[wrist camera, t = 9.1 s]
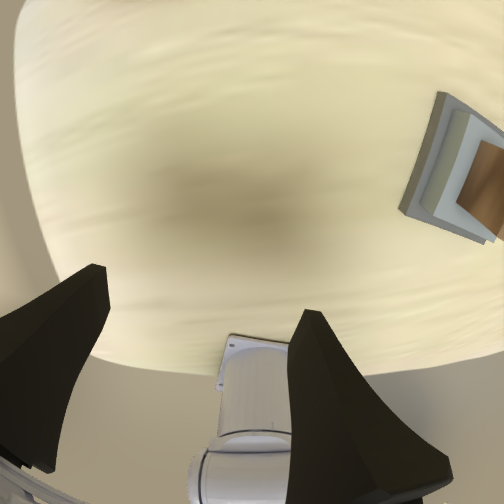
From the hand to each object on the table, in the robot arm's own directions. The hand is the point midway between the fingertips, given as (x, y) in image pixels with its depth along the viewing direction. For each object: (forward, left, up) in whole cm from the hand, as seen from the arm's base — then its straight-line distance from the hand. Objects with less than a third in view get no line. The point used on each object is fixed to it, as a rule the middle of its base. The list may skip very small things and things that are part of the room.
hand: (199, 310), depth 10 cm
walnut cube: (+7, -16, -7) cm, 19 cm away
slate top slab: (+7, -16, -9) cm, 19 cm away
